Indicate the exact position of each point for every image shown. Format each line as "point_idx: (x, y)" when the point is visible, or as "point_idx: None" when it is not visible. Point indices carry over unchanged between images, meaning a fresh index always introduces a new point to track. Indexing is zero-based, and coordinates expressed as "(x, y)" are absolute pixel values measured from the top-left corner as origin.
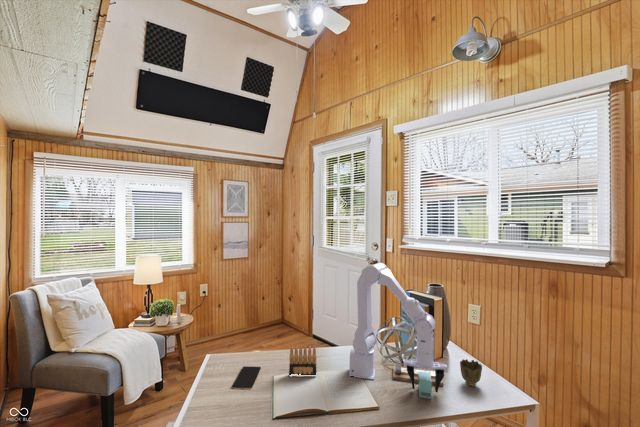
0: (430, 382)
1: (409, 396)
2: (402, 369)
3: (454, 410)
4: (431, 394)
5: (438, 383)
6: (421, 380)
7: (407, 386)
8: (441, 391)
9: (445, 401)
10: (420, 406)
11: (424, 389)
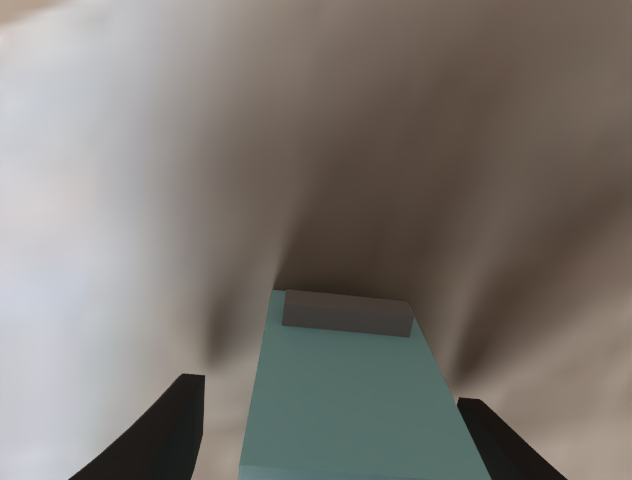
0: (266, 446)
1: (518, 302)
2: None
3: (18, 92)
4: (267, 317)
5: (115, 463)
6: (448, 476)
7: None
8: None
9: (114, 267)
10: (445, 116)
11: (364, 357)
